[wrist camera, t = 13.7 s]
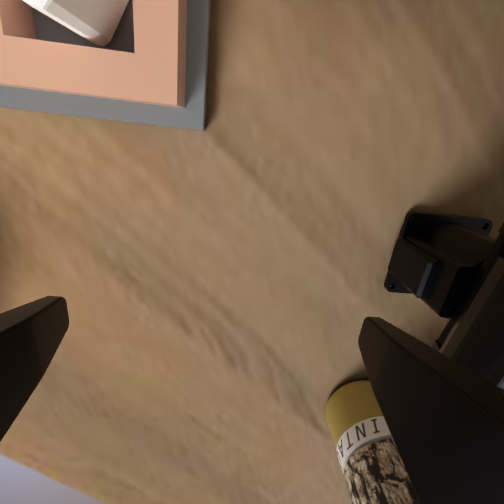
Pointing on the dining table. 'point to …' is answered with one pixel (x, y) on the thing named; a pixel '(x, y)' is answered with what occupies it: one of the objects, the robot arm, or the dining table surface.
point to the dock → (126, 46)
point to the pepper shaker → (85, 16)
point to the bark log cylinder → (367, 448)
